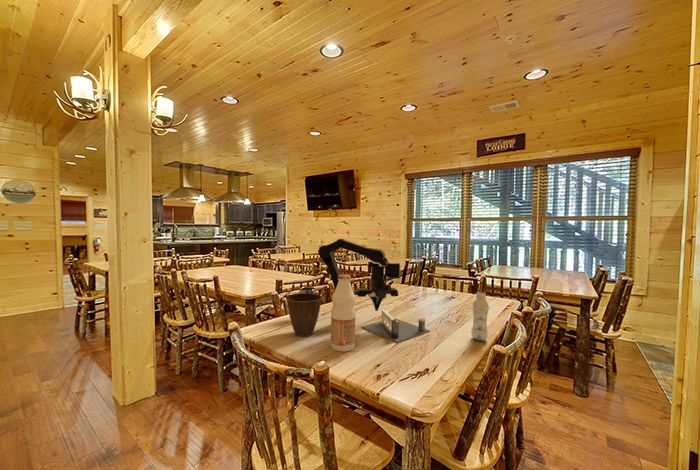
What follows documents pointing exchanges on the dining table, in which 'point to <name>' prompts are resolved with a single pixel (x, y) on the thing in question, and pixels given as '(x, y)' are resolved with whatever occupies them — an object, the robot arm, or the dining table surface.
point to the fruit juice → (343, 316)
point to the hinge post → (395, 329)
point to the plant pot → (304, 312)
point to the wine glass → (308, 290)
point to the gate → (385, 318)
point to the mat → (404, 330)
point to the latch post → (421, 324)
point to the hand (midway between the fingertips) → (376, 310)
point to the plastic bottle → (480, 317)
